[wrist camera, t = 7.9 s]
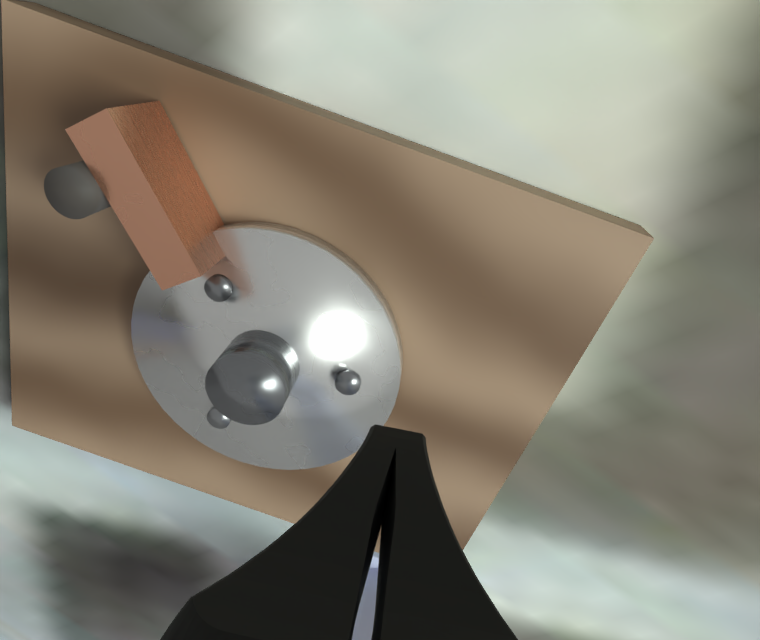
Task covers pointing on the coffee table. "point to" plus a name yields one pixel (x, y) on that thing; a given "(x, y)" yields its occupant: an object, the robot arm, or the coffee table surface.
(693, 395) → the coffee table surface
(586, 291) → the base board
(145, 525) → the coffee table surface
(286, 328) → the flange plate
